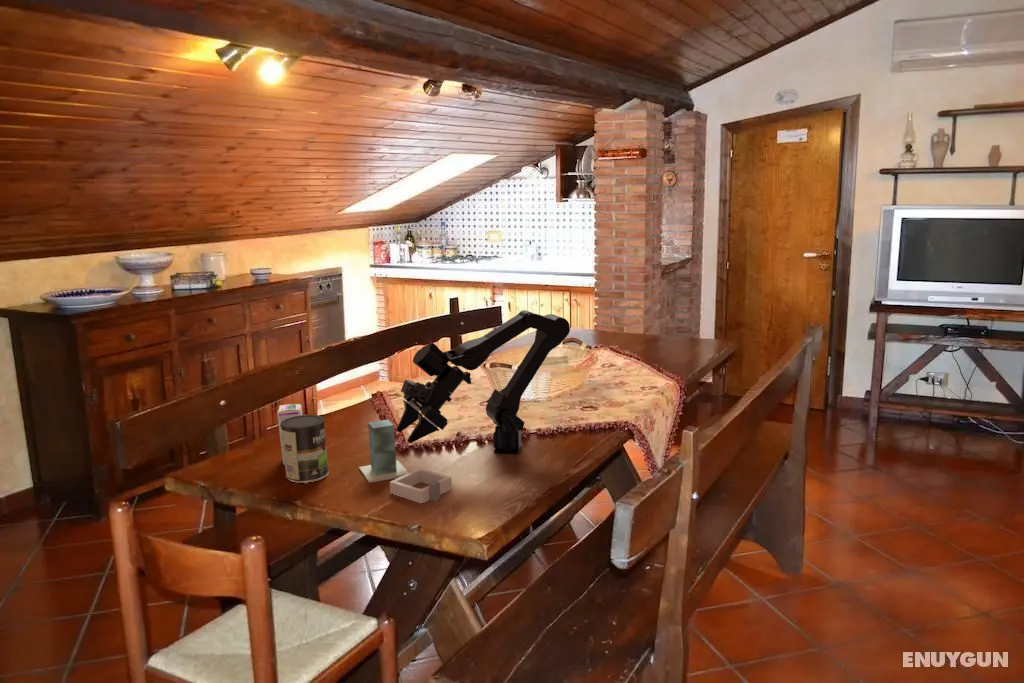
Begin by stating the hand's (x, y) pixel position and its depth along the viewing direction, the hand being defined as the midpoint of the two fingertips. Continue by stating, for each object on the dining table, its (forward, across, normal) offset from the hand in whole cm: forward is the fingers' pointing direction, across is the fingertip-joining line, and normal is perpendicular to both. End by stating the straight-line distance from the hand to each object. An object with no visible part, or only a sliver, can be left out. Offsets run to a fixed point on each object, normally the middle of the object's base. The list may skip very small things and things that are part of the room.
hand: (403, 436), depth 195 cm
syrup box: (+23, -19, -11) cm, 31 cm away
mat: (+10, 0, +2) cm, 10 cm away
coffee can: (+22, -7, -10) cm, 25 cm away
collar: (+6, +16, +5) cm, 18 cm away
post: (+9, 0, +2) cm, 9 cm away
